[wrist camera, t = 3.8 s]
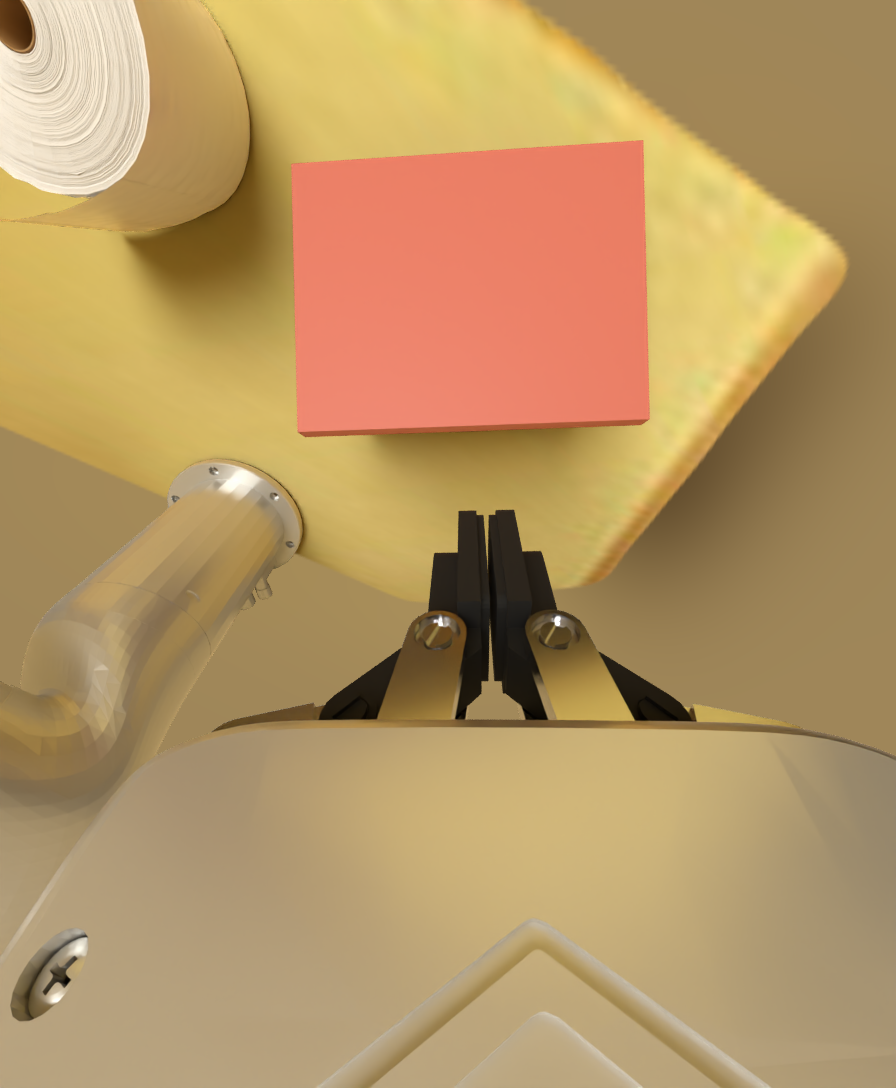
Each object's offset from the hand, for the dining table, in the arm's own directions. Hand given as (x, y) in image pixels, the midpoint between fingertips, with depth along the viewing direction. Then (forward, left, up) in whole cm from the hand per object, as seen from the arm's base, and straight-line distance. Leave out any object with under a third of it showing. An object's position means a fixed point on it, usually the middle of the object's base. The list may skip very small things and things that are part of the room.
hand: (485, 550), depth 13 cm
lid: (+6, 0, -15) cm, 16 cm away
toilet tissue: (+15, +18, -24) cm, 34 cm away
